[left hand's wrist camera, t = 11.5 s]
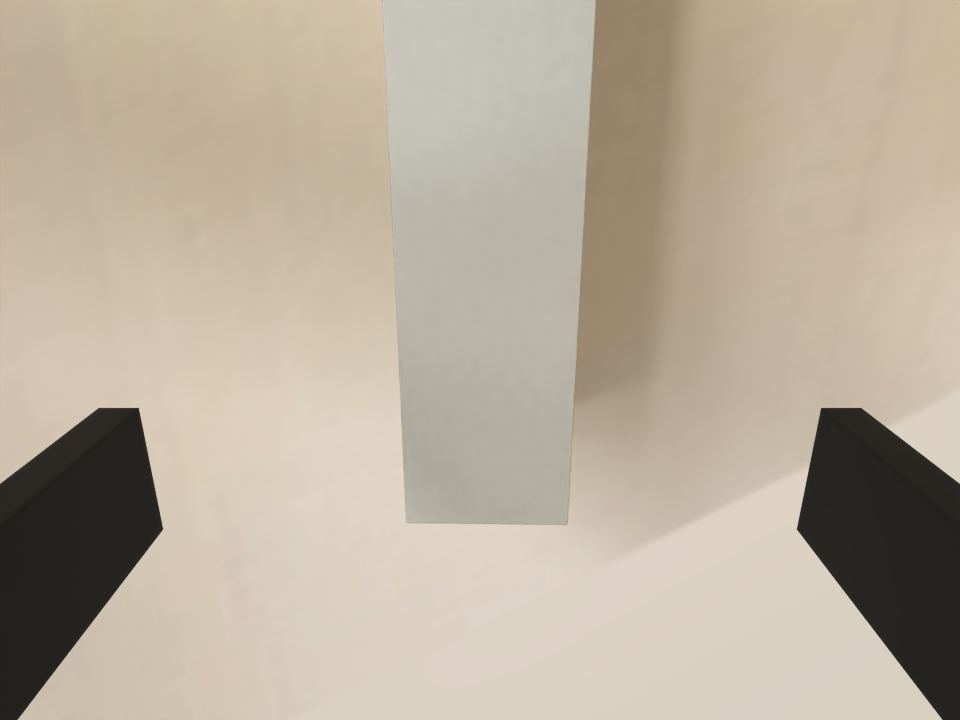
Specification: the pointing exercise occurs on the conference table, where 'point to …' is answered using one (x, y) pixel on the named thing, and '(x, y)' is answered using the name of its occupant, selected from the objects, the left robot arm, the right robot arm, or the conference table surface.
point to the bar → (488, 249)
